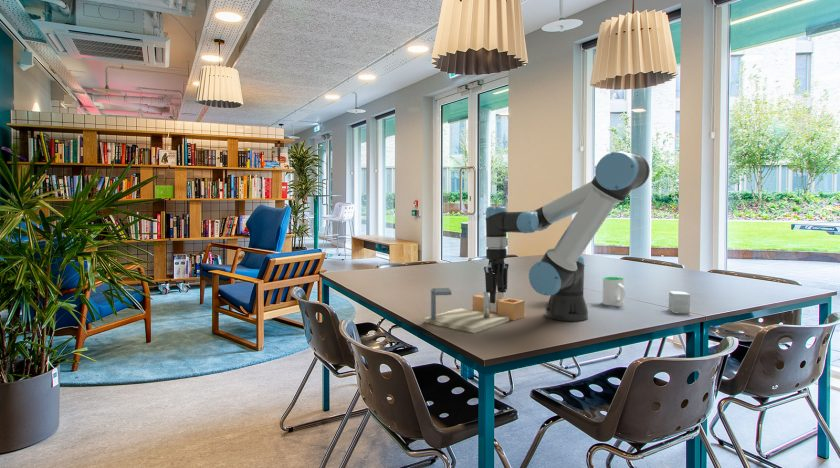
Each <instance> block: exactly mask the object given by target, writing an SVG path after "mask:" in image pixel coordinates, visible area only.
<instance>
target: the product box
mask: <svg viewBox="0 0 840 468" xmlns="http://www.w3.org/2000/svg"><path fill="white" fill-rule="evenodd" d="M690 303H691V294H690V293H688V292H686V291H680V290H679V291H677V290H676V291H675V290H673V291H671V290H669V291H668V307H667V308H668V311H669V312H671V311H672V312H678V313H677V314H687V313H689V314H690ZM672 312H671V313H672Z"/></svg>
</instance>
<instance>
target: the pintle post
mask: <svg viewBox="0 0 840 468" xmlns="http://www.w3.org/2000/svg"><path fill="white" fill-rule="evenodd" d="M483 296H484V318H490V292H486V291H484V292H483Z"/></svg>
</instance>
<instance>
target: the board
mask: <svg viewBox="0 0 840 468" xmlns="http://www.w3.org/2000/svg"><path fill="white" fill-rule="evenodd" d="M425 322H426V323H425ZM507 322H510V319H509V317H507V316H501V315H496V314H490V318H484V312H479V311H473V309H467V308H461V307H459V308H455V309H451V310H448V311H445V312H444V311H443V312H442V313H436V320H431V315H430V316H427V317H426V316H425V317H424V318H423V323H425V324H429V323H430V324H431V325H435V326H440V327H443V328H444V327H445V328H450V329H452V330H453V329H454V330H458V331H463V332H466V333H471V334H472V333H473V334H477V333H479V332H482V331H484V330H488V329H491V328H493V327H496V326H499V325H502V324H504V323H505V324H506V323H507Z"/></svg>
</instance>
